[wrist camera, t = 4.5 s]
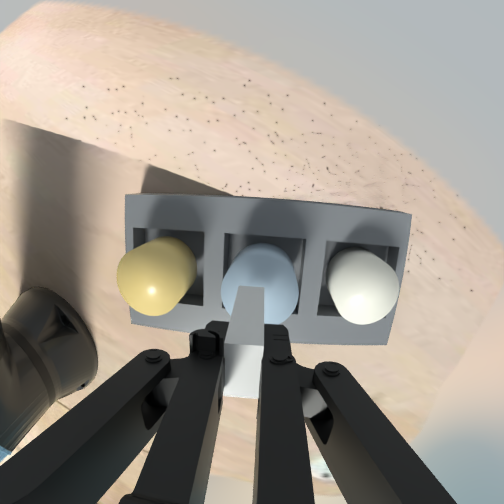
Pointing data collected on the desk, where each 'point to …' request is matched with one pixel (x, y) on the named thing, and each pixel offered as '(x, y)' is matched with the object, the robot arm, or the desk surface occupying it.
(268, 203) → the grey compartment tray
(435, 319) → the desk surface
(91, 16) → the desk surface
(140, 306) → the ochre button
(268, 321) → the light blue rounded dome
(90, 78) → the desk surface
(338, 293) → the ivory button
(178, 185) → the desk surface
